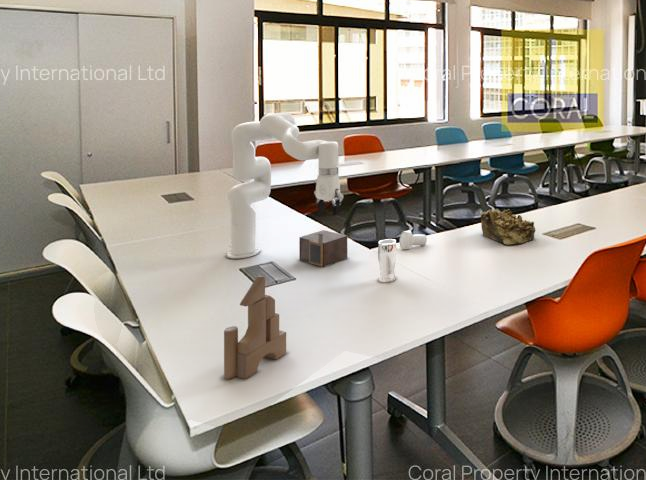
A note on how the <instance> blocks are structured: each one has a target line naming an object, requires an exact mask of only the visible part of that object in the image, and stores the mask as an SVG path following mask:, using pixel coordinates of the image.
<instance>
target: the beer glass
mask: <svg viewBox="0 0 646 480" xmlns="http://www.w3.org/2000/svg"><path fill="white" fill-rule="evenodd" d="M377 259H378V266H379V278H378V281H379V282H380V283H391V282H394V281H396V273H395V267H396V266H395V265H396V261H397V240H396V239H392V238H386V239H381V240H379V241H378V246H377Z"/></svg>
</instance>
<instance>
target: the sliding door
mask: <svg viewBox="0 0 646 480" xmlns="http://www.w3.org/2000/svg"><path fill="white" fill-rule="evenodd" d="M308 264H312V265H314V266H319V267H322V266H323V233H318V242H315V241H311V240H309V263H308Z"/></svg>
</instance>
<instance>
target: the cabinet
mask: <svg viewBox="0 0 646 480" xmlns="http://www.w3.org/2000/svg"><path fill="white" fill-rule="evenodd" d="M318 233H323V266H322V267H323V268H325V267H328V266H330V265H333V264H335V263H339V262H341V261H344V260H347V259H348V235H347V234H342V233H337V232H333V231H329V230H324V229H322V230H318V231H316V232H312V233H309V234H306V235H302V236H299V247H298V248H299V254H298V255H299V261H301V262H305V263H308V264H310V263H309V240H311V241H315V242H318Z"/></svg>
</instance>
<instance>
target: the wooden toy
mask: <svg viewBox="0 0 646 480" xmlns="http://www.w3.org/2000/svg"><path fill="white" fill-rule="evenodd" d="M239 306H243V307H247V329H246V331H245V334H244V335H243V336H242V337H241V339H240V340H239V328H238V326H233V325H232V326H228V327H226V328H225V329H224V331H223V377H224V379H226V380H230V379H233V378H235V377H238V378H241V379H245V380H247V379H248V378H250V377H252V376H253V375H255V374H256V373H258V369H259V366H260V363H261V361H262V360H263V358H268V359H272V360H278V359H280V358H281V357H284V355H286V354H287V331H286V330H285V331H284V330H280V313H277V312H276V299H275V298H274V297H272V296H271V295H268V294H266V277H265V276H263V275H257V276H256V277H255V279H254V280H253V282H252V284H251V285H250V287H249V288H248V290H247V292H246V293H245V295H244V297H243V298H242V300H240V303H239Z"/></svg>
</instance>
